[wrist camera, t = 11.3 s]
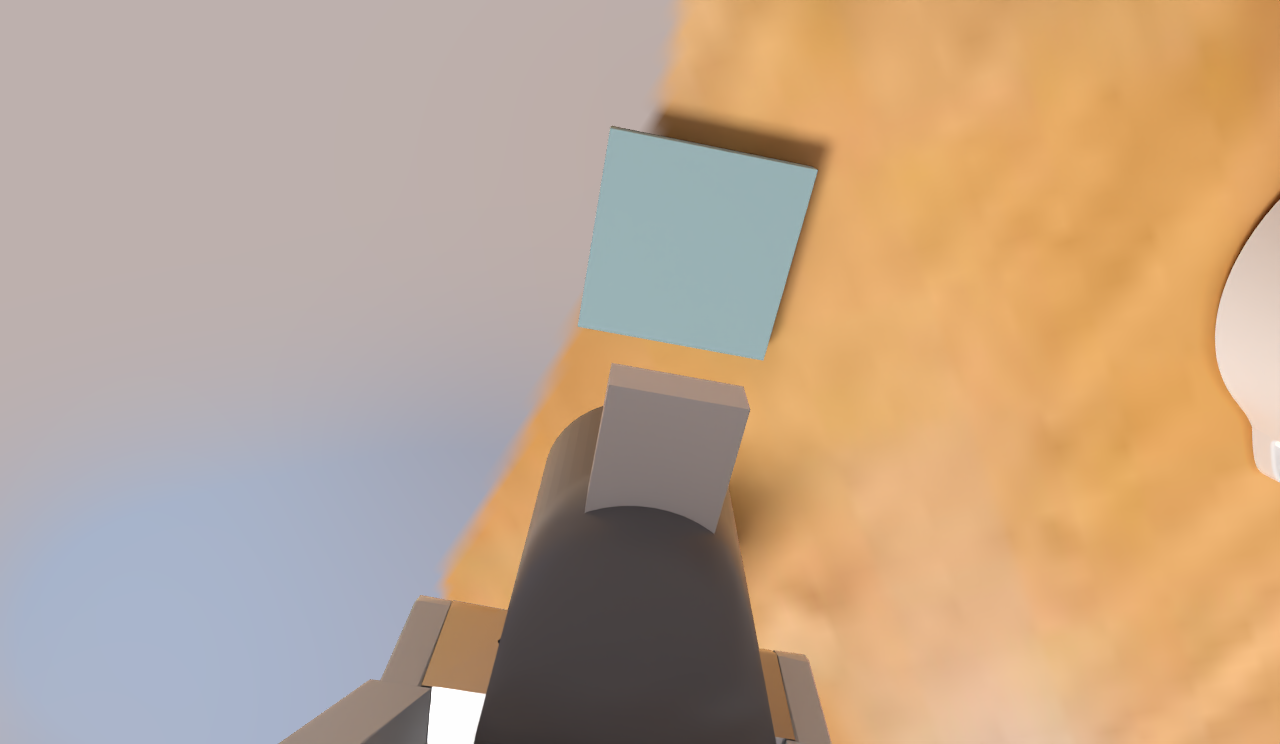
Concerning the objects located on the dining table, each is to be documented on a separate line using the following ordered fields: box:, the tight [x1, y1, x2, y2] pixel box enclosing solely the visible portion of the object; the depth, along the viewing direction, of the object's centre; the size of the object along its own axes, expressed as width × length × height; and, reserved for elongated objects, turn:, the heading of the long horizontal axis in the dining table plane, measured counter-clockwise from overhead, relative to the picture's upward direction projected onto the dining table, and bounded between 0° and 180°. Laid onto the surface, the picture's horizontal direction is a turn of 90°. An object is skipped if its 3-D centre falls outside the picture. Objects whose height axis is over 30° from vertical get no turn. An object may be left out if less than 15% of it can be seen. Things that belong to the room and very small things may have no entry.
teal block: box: [578, 126, 818, 360], centre depth 28 cm, size 8×8×1 cm
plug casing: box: [474, 363, 776, 744], centre depth 10 cm, size 3×9×5 cm, turn 169°
